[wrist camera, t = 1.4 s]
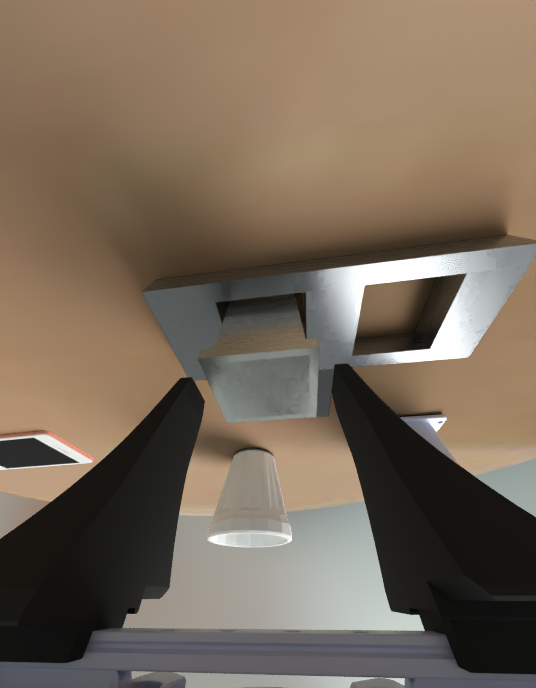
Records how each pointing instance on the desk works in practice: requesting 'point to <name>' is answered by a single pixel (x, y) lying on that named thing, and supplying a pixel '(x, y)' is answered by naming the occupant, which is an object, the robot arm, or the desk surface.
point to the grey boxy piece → (263, 362)
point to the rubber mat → (324, 392)
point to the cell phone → (38, 451)
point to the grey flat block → (354, 300)
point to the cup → (251, 504)
